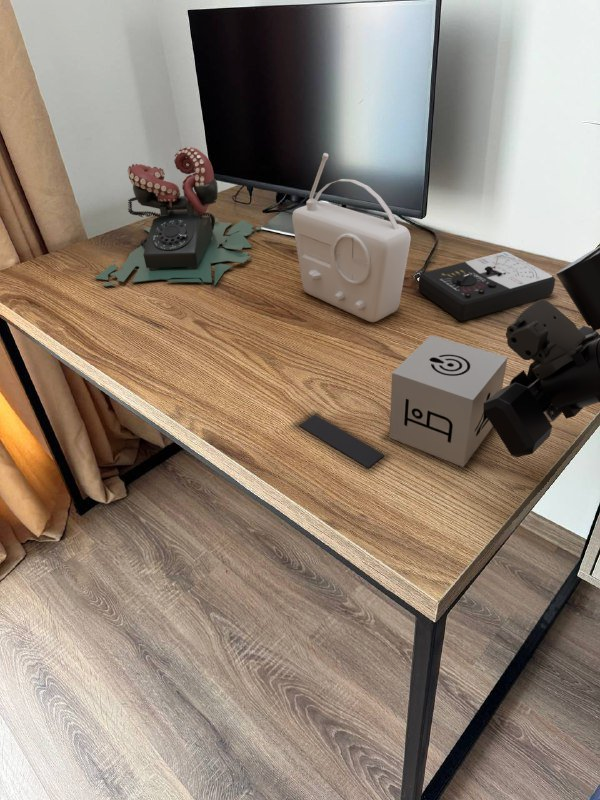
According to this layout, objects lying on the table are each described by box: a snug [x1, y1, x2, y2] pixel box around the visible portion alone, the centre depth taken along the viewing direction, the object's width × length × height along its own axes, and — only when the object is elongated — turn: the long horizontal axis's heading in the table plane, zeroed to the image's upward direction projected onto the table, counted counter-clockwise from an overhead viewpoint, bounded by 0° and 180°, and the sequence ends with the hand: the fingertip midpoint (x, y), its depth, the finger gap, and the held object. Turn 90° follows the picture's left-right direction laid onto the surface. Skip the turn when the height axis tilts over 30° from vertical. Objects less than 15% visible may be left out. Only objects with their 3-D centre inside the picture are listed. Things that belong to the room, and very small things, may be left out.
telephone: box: [93, 146, 262, 287], centre depth 122 cm, size 35×32×20 cm
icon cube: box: [389, 334, 509, 468], centre depth 72 cm, size 10×10×10 cm
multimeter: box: [418, 251, 556, 322], centre depth 102 cm, size 13×19×5 cm
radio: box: [291, 152, 412, 323], centre depth 97 cm, size 22×8×25 cm, turn 42°
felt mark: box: [298, 414, 385, 469], centre depth 75 cm, size 12×3×1 cm, turn 44°
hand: (493, 408), depth 67 cm, fingers closed
